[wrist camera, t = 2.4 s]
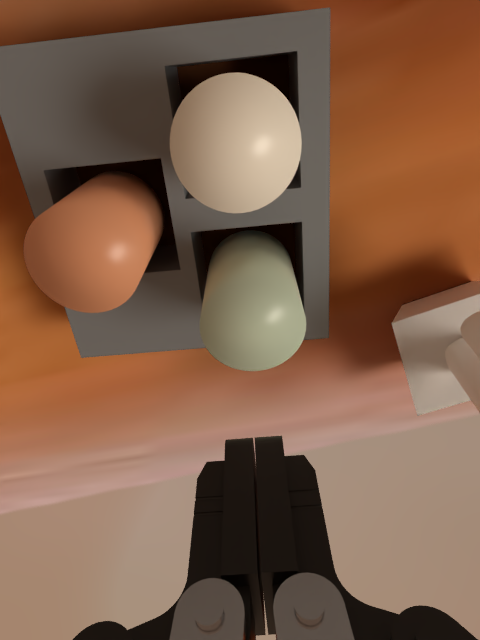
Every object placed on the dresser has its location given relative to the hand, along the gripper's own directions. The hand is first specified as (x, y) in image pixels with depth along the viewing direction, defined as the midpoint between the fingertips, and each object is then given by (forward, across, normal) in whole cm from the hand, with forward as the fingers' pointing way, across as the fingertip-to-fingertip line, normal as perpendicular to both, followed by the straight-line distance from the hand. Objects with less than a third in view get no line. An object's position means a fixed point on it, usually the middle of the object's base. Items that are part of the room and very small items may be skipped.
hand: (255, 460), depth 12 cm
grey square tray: (+16, +3, -3) cm, 17 cm away
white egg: (+13, 0, -7) cm, 15 cm away
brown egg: (+13, +6, -3) cm, 15 cm away
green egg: (+13, 0, 0) cm, 13 cm away
